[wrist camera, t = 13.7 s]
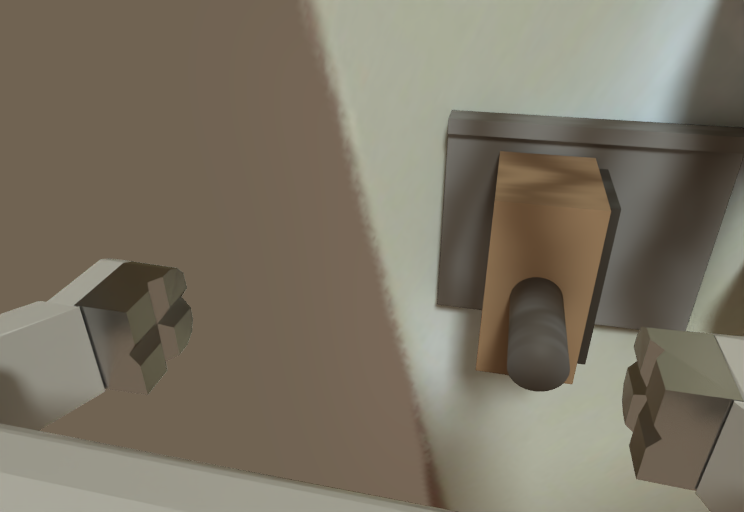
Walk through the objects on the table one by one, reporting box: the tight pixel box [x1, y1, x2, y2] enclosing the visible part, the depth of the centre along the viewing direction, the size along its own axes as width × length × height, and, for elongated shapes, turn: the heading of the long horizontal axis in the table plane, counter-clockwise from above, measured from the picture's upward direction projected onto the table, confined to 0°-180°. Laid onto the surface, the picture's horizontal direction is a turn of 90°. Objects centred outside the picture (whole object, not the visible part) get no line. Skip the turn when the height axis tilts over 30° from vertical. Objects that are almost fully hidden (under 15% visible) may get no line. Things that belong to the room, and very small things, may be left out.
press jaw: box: [476, 151, 621, 391], centre depth 35 cm, size 7×12×14 cm, turn 0°
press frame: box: [437, 110, 744, 331], centre depth 36 cm, size 34×15×10 cm, turn 90°
